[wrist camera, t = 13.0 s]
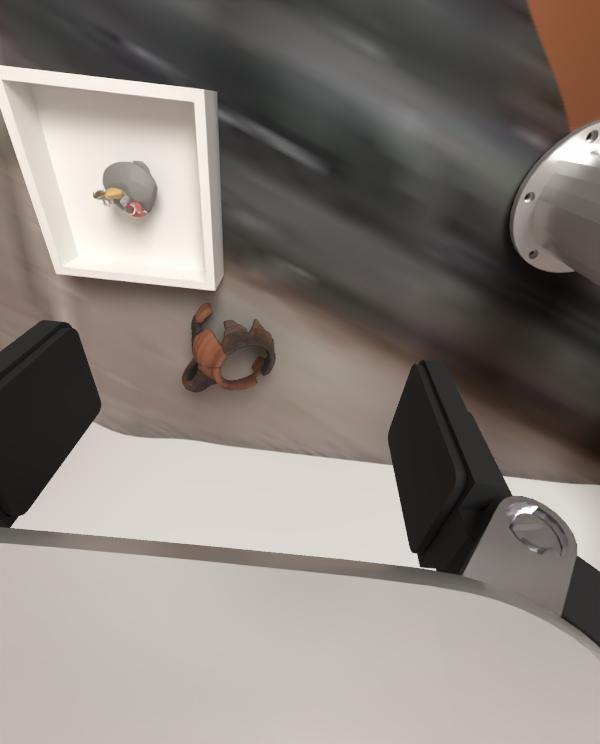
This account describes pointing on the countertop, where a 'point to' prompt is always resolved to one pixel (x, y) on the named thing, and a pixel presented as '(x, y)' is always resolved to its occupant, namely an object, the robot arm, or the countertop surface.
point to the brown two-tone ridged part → (224, 353)
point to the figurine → (129, 188)
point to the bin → (111, 145)
